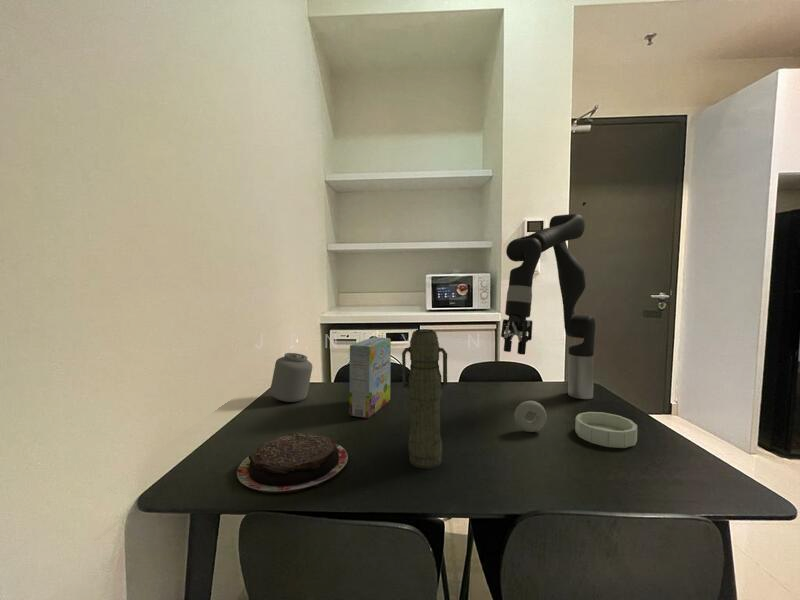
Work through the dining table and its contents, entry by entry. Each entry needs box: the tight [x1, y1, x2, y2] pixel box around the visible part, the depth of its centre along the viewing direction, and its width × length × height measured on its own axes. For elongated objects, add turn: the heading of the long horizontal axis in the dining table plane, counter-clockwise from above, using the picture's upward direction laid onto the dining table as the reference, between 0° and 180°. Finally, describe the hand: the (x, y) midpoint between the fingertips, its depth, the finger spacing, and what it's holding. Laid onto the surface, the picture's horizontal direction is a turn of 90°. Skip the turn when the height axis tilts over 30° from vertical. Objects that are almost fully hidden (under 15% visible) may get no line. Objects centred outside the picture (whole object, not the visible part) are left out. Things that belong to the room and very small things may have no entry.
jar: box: [269, 338, 313, 403], centre depth 150 cm, size 19×15×25 cm
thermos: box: [401, 328, 448, 469], centre depth 98 cm, size 9×12×35 cm
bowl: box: [574, 411, 638, 449], centre depth 112 cm, size 16×16×4 cm
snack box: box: [348, 336, 392, 419], centre depth 139 cm, size 22×9×26 cm, turn 161°
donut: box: [513, 400, 548, 433], centre depth 116 cm, size 10×3×10 cm, turn 88°
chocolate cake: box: [236, 432, 349, 494], centre depth 97 cm, size 28×28×7 cm
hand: (513, 352), depth 114 cm, fingers open, 8 cm apart
